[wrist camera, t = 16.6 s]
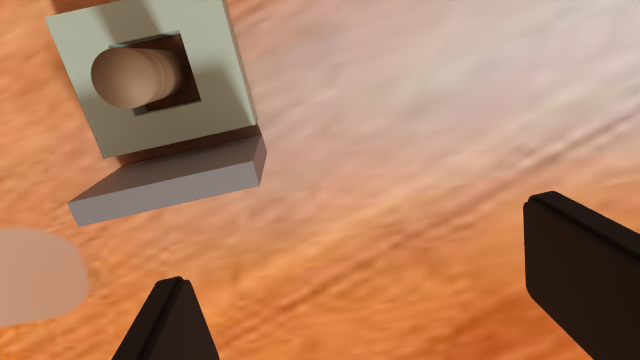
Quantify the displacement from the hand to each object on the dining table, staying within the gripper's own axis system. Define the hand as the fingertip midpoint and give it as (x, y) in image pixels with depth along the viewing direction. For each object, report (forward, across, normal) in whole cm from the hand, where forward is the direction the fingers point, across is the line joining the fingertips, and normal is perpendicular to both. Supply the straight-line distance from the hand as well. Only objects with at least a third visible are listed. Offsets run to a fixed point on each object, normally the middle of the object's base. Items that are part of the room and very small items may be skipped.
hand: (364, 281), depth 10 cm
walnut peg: (+28, +12, -7) cm, 31 cm away
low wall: (+28, +12, +2) cm, 31 cm away
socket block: (+28, +12, -7) cm, 32 cm away
